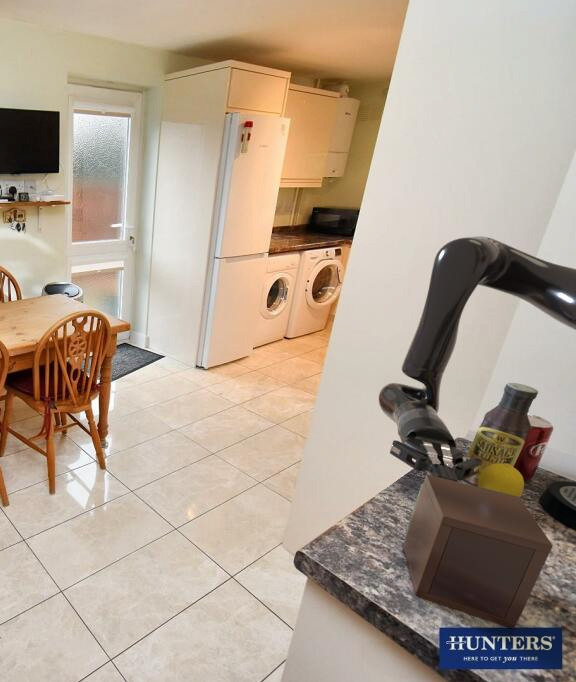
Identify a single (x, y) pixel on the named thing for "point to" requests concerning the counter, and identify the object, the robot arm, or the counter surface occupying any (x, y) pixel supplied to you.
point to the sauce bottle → (503, 429)
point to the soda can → (533, 447)
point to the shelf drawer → (414, 508)
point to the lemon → (502, 479)
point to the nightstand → (474, 550)
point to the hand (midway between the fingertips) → (447, 483)
